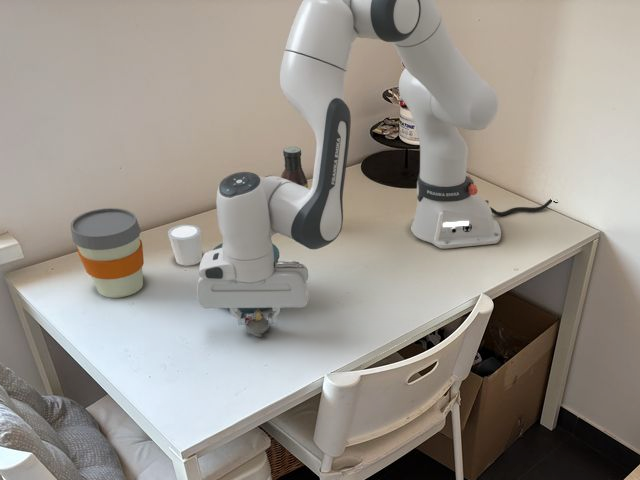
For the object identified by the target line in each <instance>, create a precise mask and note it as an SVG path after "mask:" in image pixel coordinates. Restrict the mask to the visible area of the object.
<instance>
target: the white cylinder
mask: <svg viewBox="0 0 640 480" xmlns="http://www.w3.org/2000/svg"><path fill="white" fill-rule="evenodd" d="M167 235H168V239H169V242H170V246H171V248H172V249H171V250H172V252H173V255H174V258H175V261H176V263H177V264H178V265H181V266H186V267H189V266H194V265H195V266H196V265H197V264H200V262H201V260H202V258H203V247H202V246H203V245H202V233H201V228H200V227H198V226H197V225H193V224H179V225H175V226H173V227H171V228H169V230H168V231H167Z"/></svg>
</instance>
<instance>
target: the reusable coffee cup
mask: <svg viewBox="0 0 640 480" xmlns="http://www.w3.org/2000/svg"><path fill="white" fill-rule="evenodd" d="M69 226H70V232H71V238H72V239H71V240H72V242H73V243H74V244H75V245H76V247H77V254H78V257H79V258H80V261H81V262H82V265H83V267H84V269H85V271H86V273H87V274H88V275H89V276H90V277H91V279H92V281H93V283H94V286H95V288H96V290H97V292H98V294H99V295H101V296H103V297H105V298H112V299H114V298H115V299H116V298H117V299H119V298H125V297H129V296H132V295H134V294H136V293H137V292H139V291H140V290H141V289H142V288H143V286H144V276H143V266H144V263H145V261H144V247H143V242H142V240H141V238H140V234H141V227H140V224H139V221H138V218H137V216H136V214H135V213H134V212H132V211H130V210H128V209H124V208H119V207H118V208H117V207H104V208H97V209H93V210H89V211H86V212H84V213H81V214H79V215H78V216H76V217H75V218H73V220H72V221H70V225H69Z"/></svg>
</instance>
